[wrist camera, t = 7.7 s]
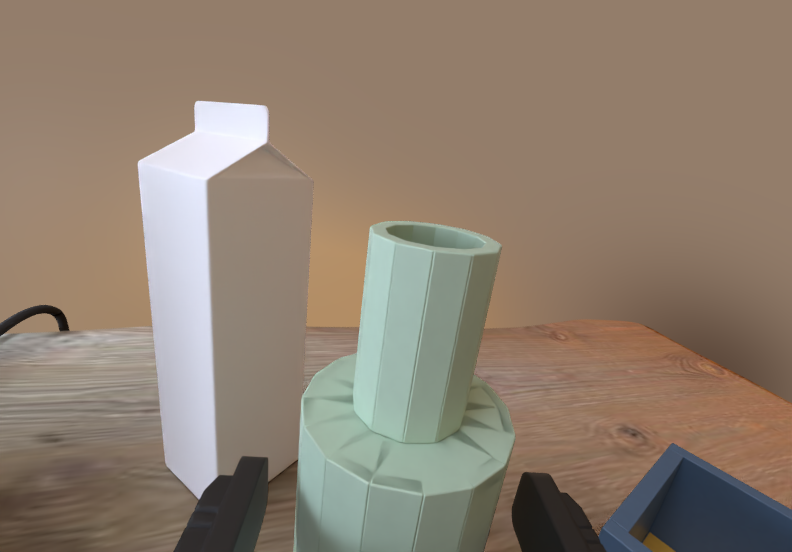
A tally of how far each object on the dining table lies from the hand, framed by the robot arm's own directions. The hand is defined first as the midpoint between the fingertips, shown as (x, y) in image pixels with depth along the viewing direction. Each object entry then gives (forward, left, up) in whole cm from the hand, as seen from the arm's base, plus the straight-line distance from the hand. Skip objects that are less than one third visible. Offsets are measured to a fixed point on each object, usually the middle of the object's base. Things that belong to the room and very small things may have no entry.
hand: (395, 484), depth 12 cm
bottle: (0, 0, -11) cm, 11 cm away
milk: (-14, -1, -11) cm, 18 cm away
